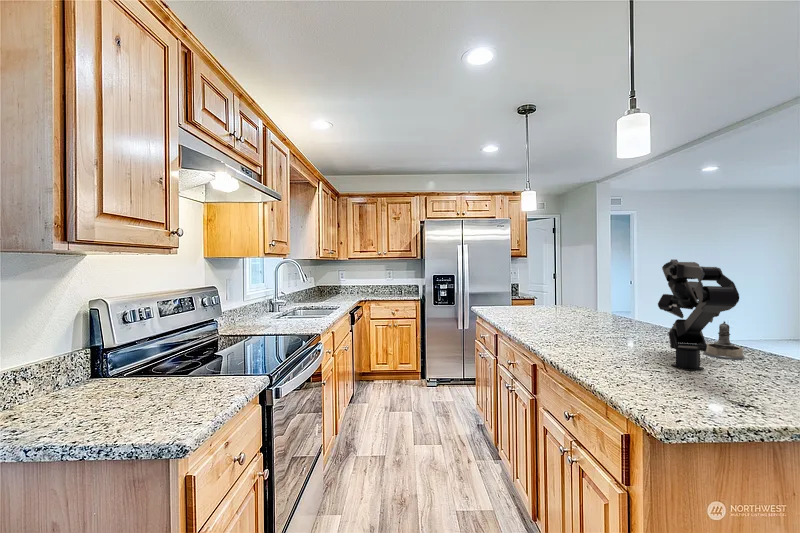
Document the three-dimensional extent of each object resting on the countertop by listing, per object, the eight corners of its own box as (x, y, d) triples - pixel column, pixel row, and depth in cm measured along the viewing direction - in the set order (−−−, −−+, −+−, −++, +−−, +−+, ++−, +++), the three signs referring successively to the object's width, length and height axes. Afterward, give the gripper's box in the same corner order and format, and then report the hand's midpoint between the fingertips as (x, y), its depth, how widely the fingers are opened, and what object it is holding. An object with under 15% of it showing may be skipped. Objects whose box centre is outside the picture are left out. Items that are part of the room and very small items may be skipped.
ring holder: (728, 360, 137) (728, 351, 137) (695, 352, 148) (695, 344, 148) (752, 358, 140) (753, 349, 140) (719, 350, 151) (719, 342, 151)
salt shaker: (720, 351, 147) (721, 319, 147) (738, 354, 142) (739, 322, 141) (709, 352, 146) (710, 320, 145) (727, 356, 140) (727, 322, 140)
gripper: (722, 276, 131) (736, 306, 137) (662, 272, 147) (677, 299, 153) (710, 301, 128) (724, 330, 134) (650, 294, 144) (665, 321, 150)
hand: (696, 319), depth 143 cm, fingers open, 9 cm apart
